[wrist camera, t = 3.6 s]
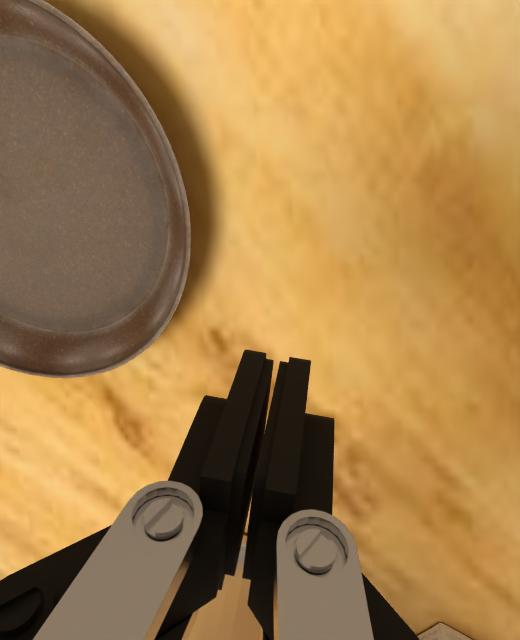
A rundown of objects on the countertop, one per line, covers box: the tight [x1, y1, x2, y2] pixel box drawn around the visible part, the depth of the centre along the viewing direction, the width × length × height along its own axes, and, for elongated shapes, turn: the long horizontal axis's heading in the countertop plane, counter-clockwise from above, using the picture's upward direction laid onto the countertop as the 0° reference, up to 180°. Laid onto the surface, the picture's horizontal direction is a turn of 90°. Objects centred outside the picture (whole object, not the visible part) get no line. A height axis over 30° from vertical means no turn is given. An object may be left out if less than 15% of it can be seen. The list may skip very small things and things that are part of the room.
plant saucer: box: [0, 0, 191, 378], centre depth 24 cm, size 21×21×3 cm
